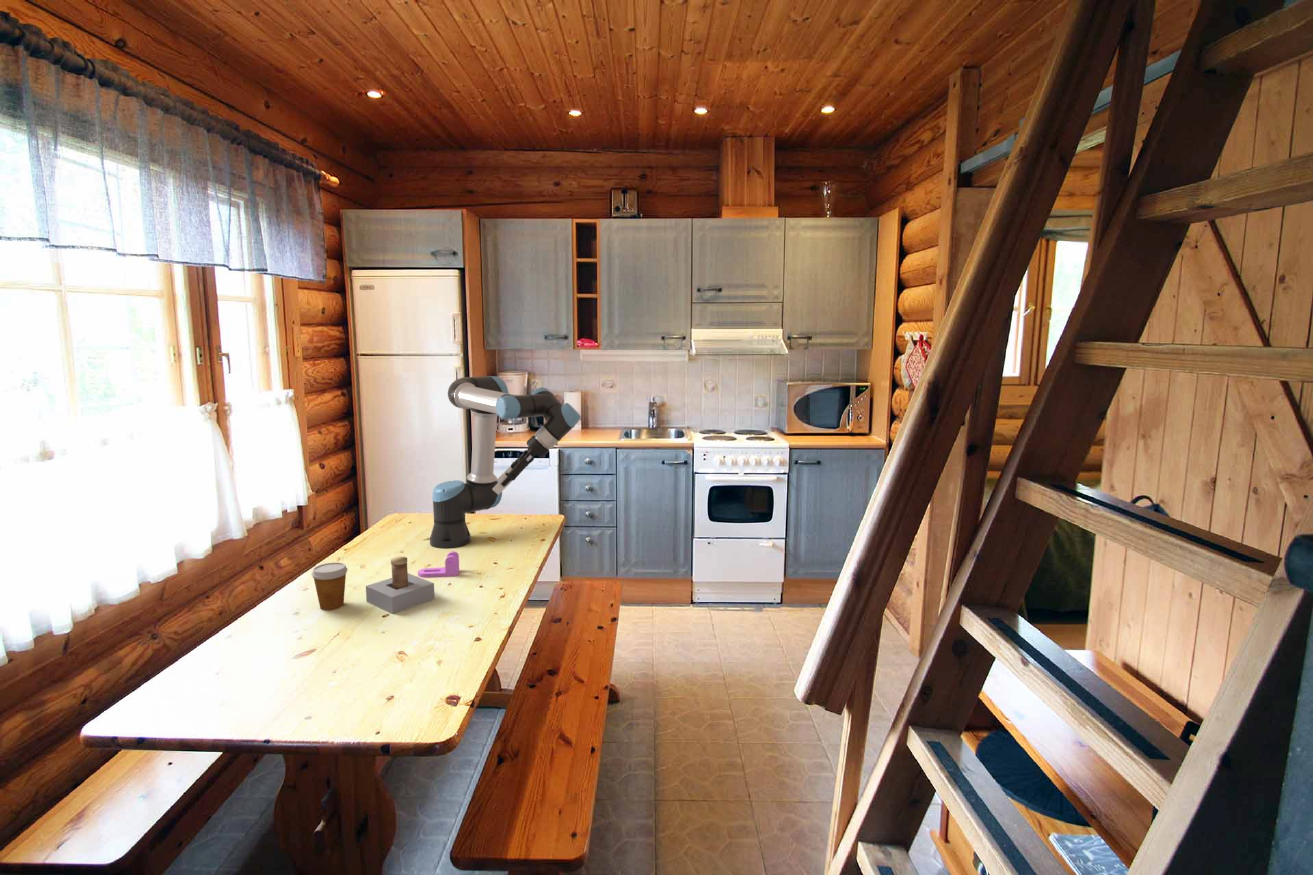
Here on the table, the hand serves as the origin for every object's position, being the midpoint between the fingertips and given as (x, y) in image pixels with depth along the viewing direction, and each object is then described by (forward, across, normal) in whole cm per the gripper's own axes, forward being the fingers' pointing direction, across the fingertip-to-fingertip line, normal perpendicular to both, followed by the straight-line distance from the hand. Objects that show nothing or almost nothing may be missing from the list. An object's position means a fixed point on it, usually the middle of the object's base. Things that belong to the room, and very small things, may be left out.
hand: (497, 487), depth 221 cm
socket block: (+40, -21, -2) cm, 46 cm away
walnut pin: (+40, -21, -2) cm, 46 cm away
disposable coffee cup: (+54, -23, +12) cm, 60 cm away
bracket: (+36, +1, -7) cm, 36 cm away
